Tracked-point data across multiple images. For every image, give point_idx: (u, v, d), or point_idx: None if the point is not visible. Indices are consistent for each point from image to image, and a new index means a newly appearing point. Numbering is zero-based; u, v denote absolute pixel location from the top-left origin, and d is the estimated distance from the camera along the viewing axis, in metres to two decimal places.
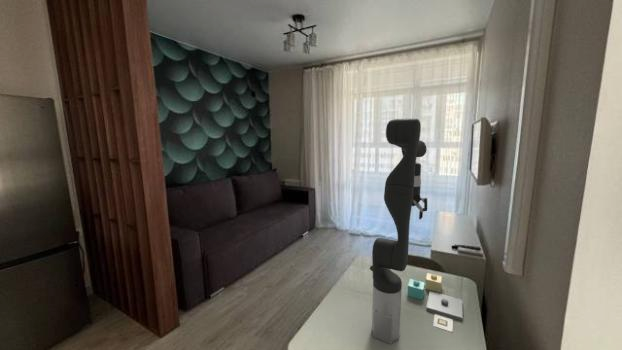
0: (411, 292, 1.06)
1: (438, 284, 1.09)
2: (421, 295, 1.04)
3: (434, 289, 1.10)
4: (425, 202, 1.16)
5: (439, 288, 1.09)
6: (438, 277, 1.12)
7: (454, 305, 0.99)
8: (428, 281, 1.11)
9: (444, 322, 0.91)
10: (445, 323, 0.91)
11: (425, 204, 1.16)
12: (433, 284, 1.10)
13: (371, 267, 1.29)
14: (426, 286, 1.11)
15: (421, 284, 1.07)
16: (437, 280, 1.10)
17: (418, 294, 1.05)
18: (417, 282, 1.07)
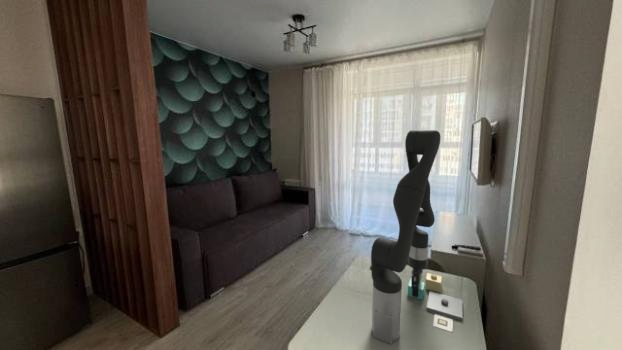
0: (411, 292, 1.06)
1: (438, 284, 1.09)
2: (421, 295, 1.04)
3: (434, 289, 1.10)
4: None
5: (439, 288, 1.09)
6: (438, 277, 1.12)
7: (454, 305, 0.99)
8: (428, 281, 1.11)
9: (444, 322, 0.91)
10: (445, 323, 0.91)
11: None
12: (433, 284, 1.10)
13: None
14: (426, 286, 1.11)
15: (421, 284, 1.07)
16: (437, 280, 1.10)
17: (418, 294, 1.05)
18: None
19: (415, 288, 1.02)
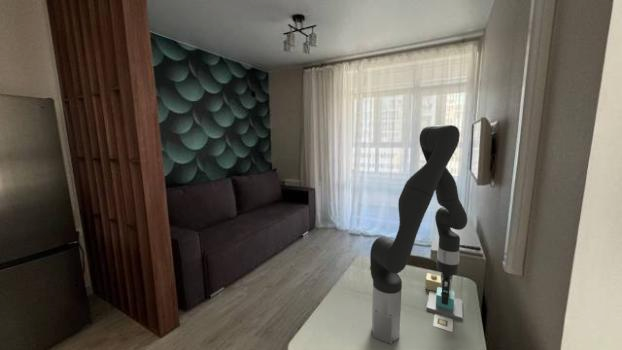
0: (440, 302, 0.98)
1: (438, 284, 1.09)
2: (451, 305, 0.96)
3: (434, 289, 1.10)
4: None
5: None
6: (438, 277, 1.12)
7: (454, 305, 0.99)
8: (428, 281, 1.11)
9: (444, 322, 0.91)
10: (445, 323, 0.91)
11: None
12: (433, 284, 1.10)
13: None
14: (426, 286, 1.11)
15: (450, 293, 0.99)
16: (437, 280, 1.10)
17: (448, 304, 0.96)
18: (446, 291, 0.99)
19: (446, 295, 0.93)
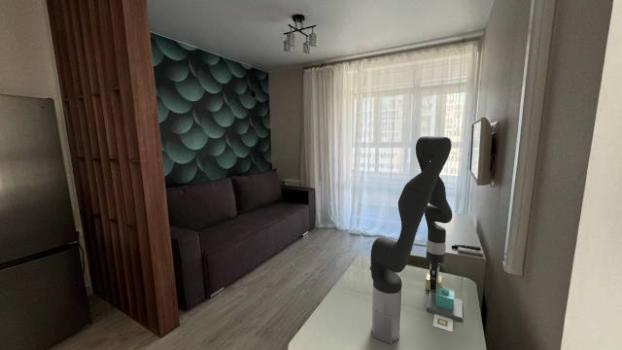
0: (440, 302, 0.98)
1: (438, 284, 1.09)
2: (451, 305, 0.96)
3: None
4: None
5: None
6: (438, 277, 1.12)
7: (454, 305, 0.99)
8: (428, 281, 1.11)
9: (444, 322, 0.91)
10: (445, 323, 0.91)
11: None
12: None
13: None
14: (426, 286, 1.11)
15: (450, 293, 0.99)
16: (437, 280, 1.10)
17: (448, 304, 0.96)
18: (446, 291, 0.99)
19: (433, 281, 1.07)
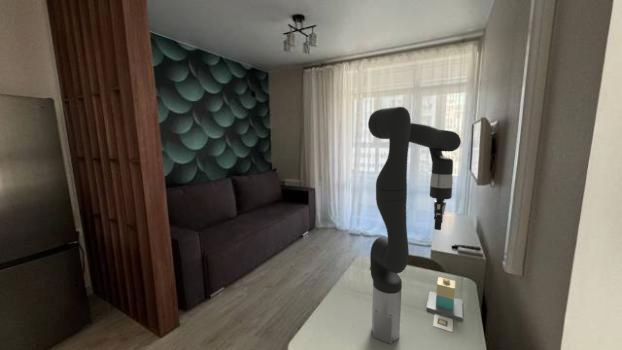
0: (440, 302, 0.98)
1: (451, 290, 0.95)
2: (451, 305, 0.96)
3: (447, 295, 0.96)
4: None
5: (453, 294, 0.95)
6: (451, 282, 0.98)
7: (454, 305, 0.99)
8: (440, 286, 0.97)
9: (444, 322, 0.91)
10: (445, 323, 0.91)
11: None
12: (446, 290, 0.96)
13: None
14: (437, 292, 0.98)
15: None
16: (450, 285, 0.96)
17: (448, 304, 0.96)
18: None
19: (438, 218, 0.91)
